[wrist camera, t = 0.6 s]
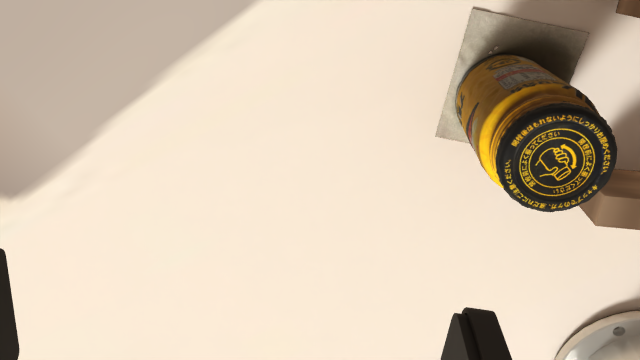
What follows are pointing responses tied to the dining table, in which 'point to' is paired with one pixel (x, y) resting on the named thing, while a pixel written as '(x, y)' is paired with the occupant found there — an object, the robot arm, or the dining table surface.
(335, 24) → the dining table surface
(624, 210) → the u rest
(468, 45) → the condiment
